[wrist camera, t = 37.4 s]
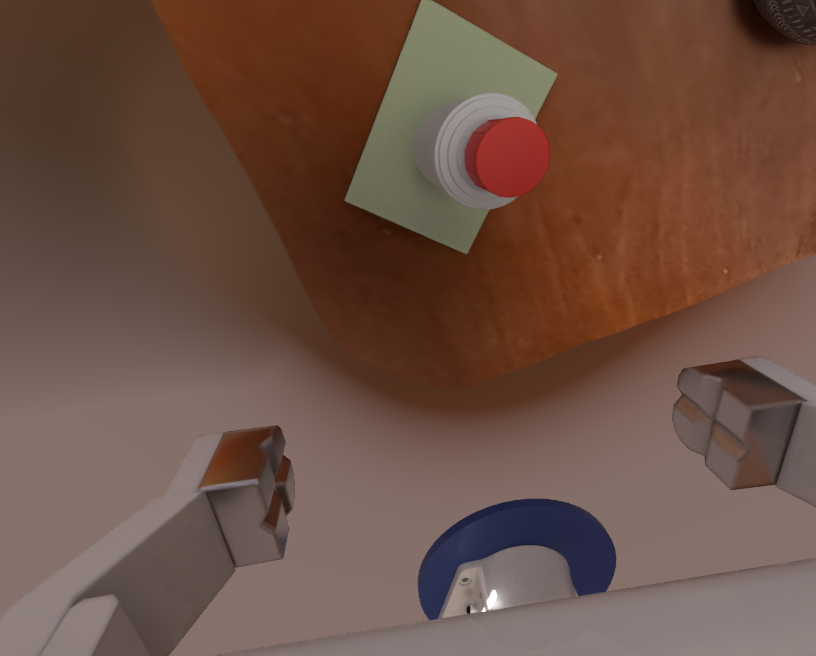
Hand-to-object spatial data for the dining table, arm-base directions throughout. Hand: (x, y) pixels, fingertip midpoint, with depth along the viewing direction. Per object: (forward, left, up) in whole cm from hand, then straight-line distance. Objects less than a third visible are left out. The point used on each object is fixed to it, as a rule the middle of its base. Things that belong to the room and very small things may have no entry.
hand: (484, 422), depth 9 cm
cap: (+6, -3, -16) cm, 17 cm away
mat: (+6, -2, -33) cm, 34 cm away
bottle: (+6, -3, -32) cm, 33 cm away
